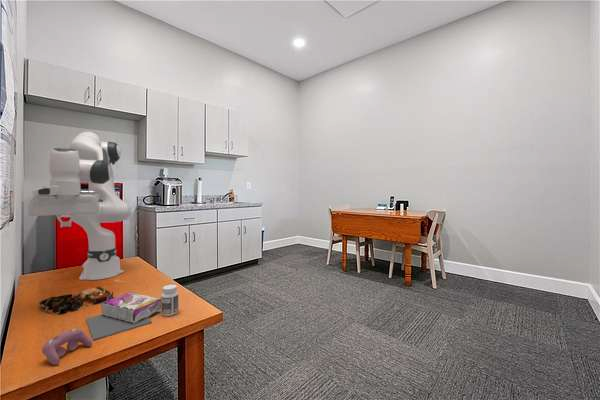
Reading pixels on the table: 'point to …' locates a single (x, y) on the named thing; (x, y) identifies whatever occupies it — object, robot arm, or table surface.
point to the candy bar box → (131, 307)
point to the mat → (111, 326)
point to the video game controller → (72, 337)
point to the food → (70, 304)
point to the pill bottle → (169, 300)
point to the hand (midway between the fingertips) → (65, 226)
